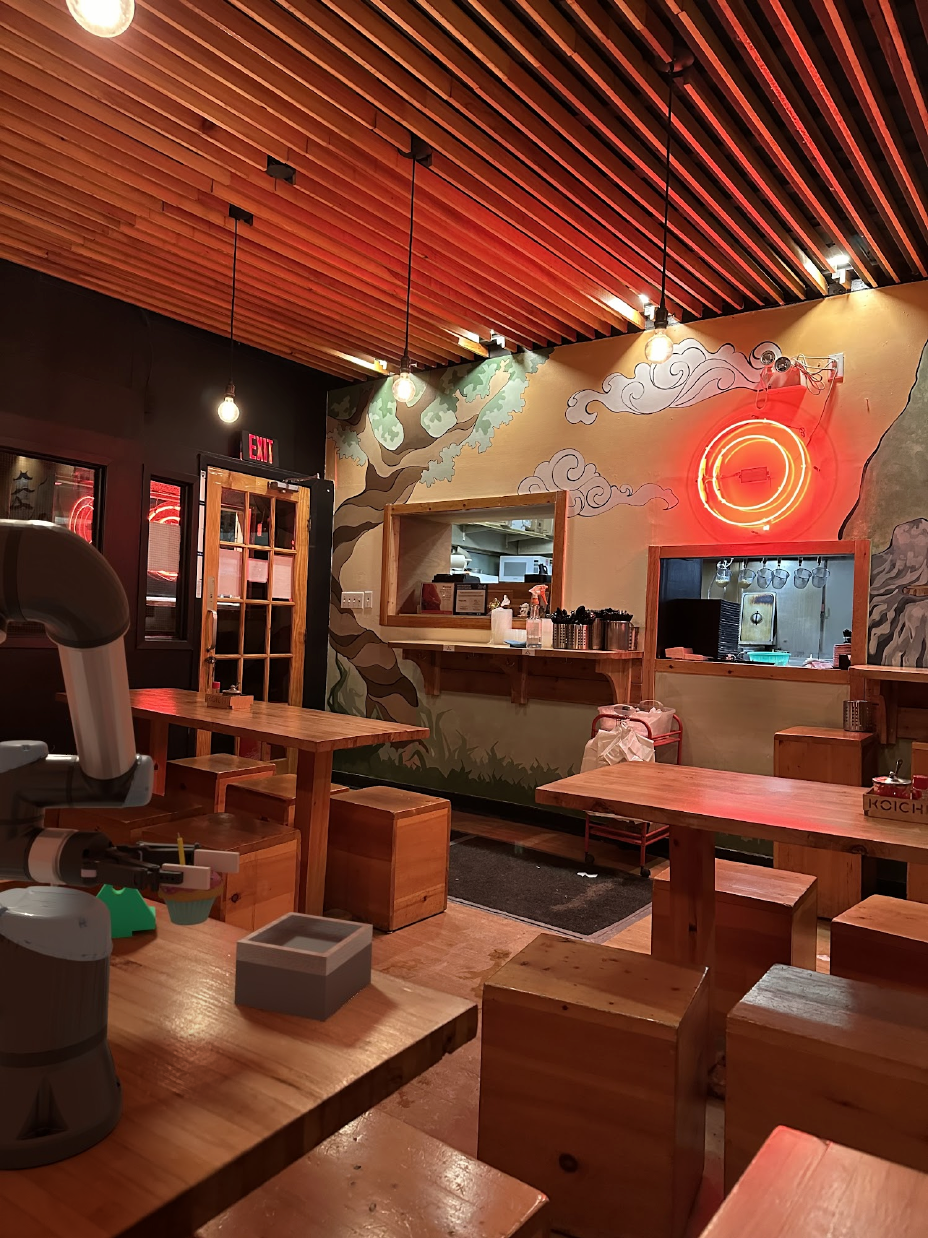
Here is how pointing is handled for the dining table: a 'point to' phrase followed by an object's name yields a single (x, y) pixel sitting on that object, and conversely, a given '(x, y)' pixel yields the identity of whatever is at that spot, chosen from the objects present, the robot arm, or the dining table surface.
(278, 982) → the gray open box
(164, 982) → the dining table surface
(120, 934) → the camera mount
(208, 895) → the cupcake
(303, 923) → the collar
